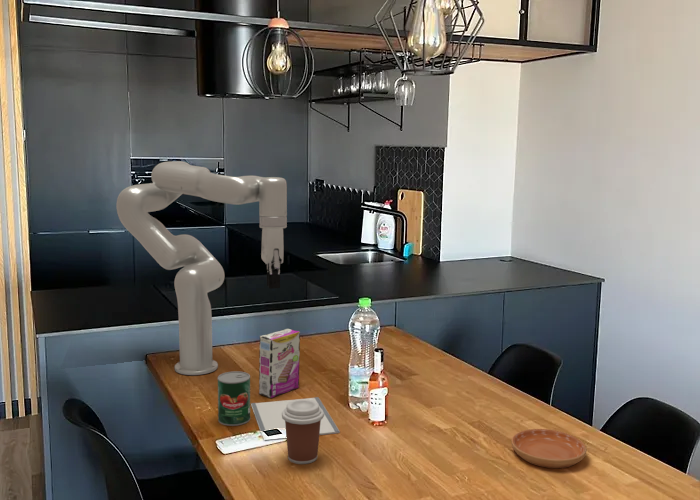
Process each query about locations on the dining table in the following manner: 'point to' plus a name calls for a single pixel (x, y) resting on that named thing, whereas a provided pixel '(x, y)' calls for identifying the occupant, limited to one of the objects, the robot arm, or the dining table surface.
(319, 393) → the dining table surface
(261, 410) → the mat
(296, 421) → the coffee cup
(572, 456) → the saucer
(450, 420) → the dining table surface
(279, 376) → the candy bar box
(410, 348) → the dining table surface
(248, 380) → the canned tomato
